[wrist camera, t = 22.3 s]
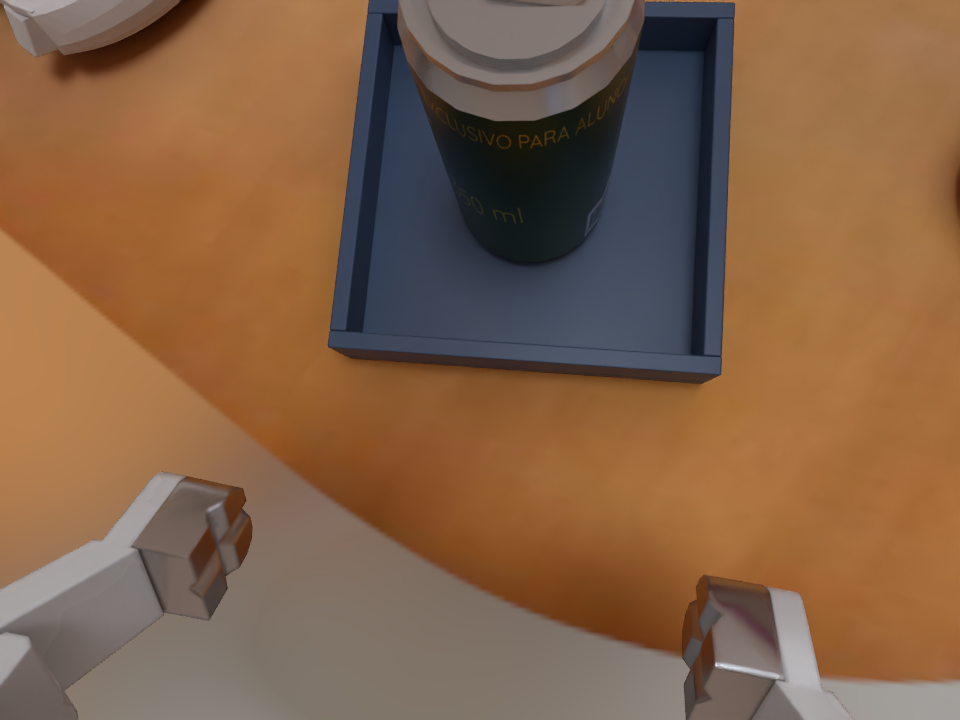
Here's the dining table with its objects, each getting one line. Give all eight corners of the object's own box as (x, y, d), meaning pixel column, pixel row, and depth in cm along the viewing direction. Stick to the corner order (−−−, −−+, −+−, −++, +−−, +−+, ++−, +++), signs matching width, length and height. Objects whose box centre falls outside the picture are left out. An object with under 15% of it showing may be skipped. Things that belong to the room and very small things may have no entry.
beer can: (615, 142, 25) (673, -135, 14) (590, 279, 25) (628, 114, 13) (476, 122, 26) (415, -157, 14) (448, 255, 25) (360, 78, 14)
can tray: (703, 384, 24) (721, 375, 22) (349, 358, 26) (327, 347, 23) (717, 46, 26) (735, 1, 24) (385, 40, 28) (368, -3, 25)
